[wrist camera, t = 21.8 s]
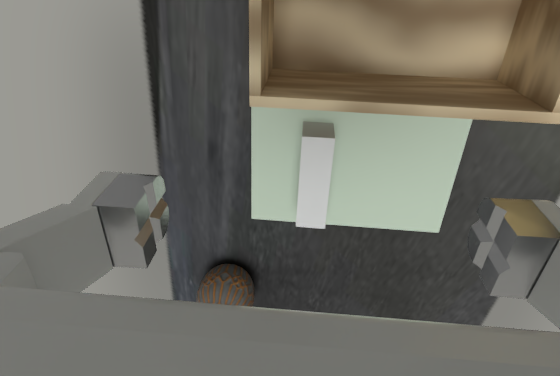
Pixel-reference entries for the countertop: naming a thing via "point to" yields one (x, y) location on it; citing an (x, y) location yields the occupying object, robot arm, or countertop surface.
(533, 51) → the toolbox
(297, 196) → the lid
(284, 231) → the countertop surface
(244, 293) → the vase
